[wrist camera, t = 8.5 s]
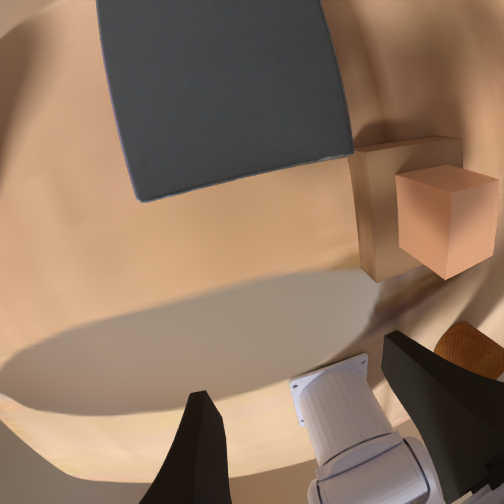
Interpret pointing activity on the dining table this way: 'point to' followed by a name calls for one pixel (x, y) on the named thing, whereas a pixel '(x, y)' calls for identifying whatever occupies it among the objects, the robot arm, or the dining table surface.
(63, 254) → the dining table surface
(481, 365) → the disposable coffee cup
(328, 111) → the small box
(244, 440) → the dining table surface
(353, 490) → the robot arm
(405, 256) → the walnut block
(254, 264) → the dining table surface
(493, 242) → the terracotta cube
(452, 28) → the dining table surface
